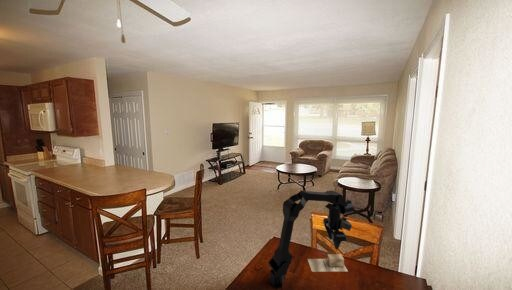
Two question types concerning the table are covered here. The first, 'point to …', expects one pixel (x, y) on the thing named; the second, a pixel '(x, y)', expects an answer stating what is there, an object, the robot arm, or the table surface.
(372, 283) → the table surface
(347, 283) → the table surface
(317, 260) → the board
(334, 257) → the sanding block
